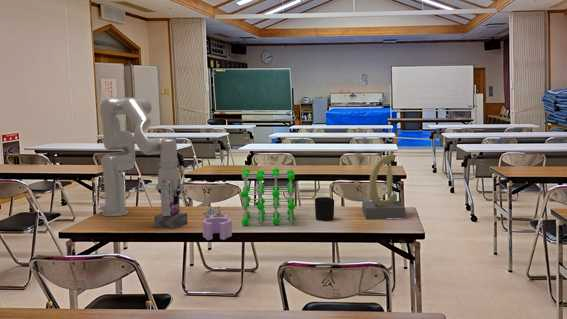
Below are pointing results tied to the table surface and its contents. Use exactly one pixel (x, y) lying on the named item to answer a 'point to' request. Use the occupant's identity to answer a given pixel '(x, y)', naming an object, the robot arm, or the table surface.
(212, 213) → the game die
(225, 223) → the clip
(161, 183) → the candy bar box
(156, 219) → the charcoal block
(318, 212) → the pen holder
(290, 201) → the molecular structure model
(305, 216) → the table surface
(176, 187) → the robot arm
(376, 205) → the trophy
